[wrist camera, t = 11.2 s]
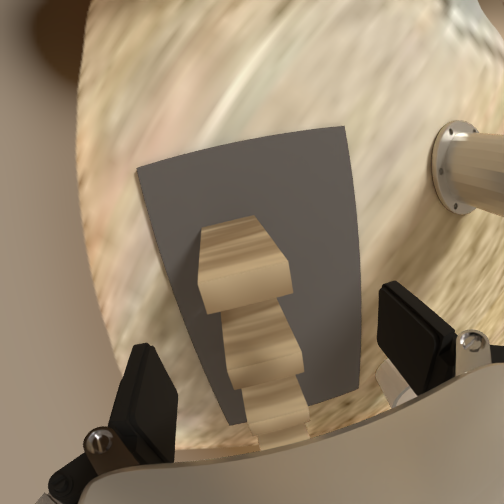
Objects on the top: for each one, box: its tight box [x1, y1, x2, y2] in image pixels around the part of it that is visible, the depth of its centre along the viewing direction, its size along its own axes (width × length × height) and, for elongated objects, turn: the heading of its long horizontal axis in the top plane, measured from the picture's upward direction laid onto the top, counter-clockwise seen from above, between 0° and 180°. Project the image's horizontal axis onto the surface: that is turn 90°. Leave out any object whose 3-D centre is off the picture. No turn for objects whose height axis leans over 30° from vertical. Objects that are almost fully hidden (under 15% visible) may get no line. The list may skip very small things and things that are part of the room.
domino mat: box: [137, 126, 361, 426], centre depth 31 cm, size 20×36×1 cm, turn 12°
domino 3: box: [257, 423, 310, 451], centre depth 28 cm, size 2×5×12 cm, turn 101°
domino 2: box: [242, 375, 310, 436], centre depth 26 cm, size 2×5×12 cm, turn 101°
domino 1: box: [220, 298, 304, 390], centre depth 24 cm, size 2×5×12 cm, turn 102°
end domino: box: [198, 215, 293, 314], centre depth 21 cm, size 2×5×12 cm, turn 102°
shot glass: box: [375, 358, 417, 409], centre depth 35 cm, size 7×7×7 cm
